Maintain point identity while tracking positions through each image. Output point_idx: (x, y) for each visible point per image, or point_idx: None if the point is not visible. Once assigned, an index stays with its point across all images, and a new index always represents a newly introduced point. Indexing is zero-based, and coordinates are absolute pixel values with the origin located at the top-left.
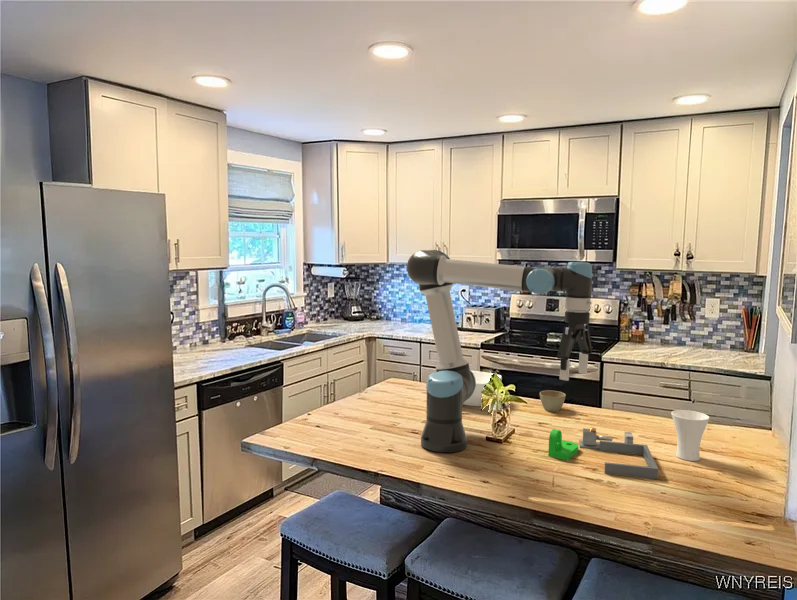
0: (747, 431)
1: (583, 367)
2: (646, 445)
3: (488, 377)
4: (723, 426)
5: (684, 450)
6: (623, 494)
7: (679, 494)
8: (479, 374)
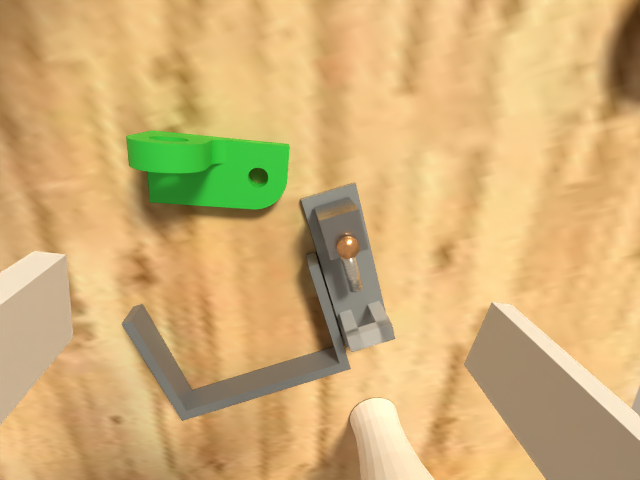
0: None
1: (510, 387)
2: (345, 368)
3: None
4: None
5: (357, 432)
6: None
7: (133, 440)
8: None
